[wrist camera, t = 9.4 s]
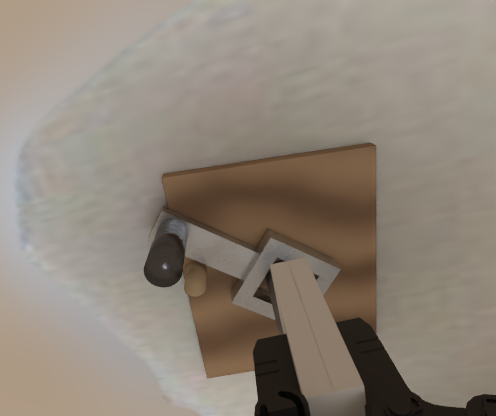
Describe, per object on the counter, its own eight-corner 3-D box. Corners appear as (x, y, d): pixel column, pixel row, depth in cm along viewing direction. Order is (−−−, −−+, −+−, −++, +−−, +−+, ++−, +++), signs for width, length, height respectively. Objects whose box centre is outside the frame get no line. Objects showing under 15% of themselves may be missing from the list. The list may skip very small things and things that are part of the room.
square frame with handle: (334, 259, 34) (362, 305, 28) (295, 317, 37) (313, 372, 30) (173, 185, 31) (162, 218, 24) (139, 254, 33) (121, 302, 26)
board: (371, 342, 40) (407, 405, 33) (207, 369, 40) (206, 440, 32) (370, 142, 32) (417, 167, 25) (163, 174, 31) (147, 208, 24)
